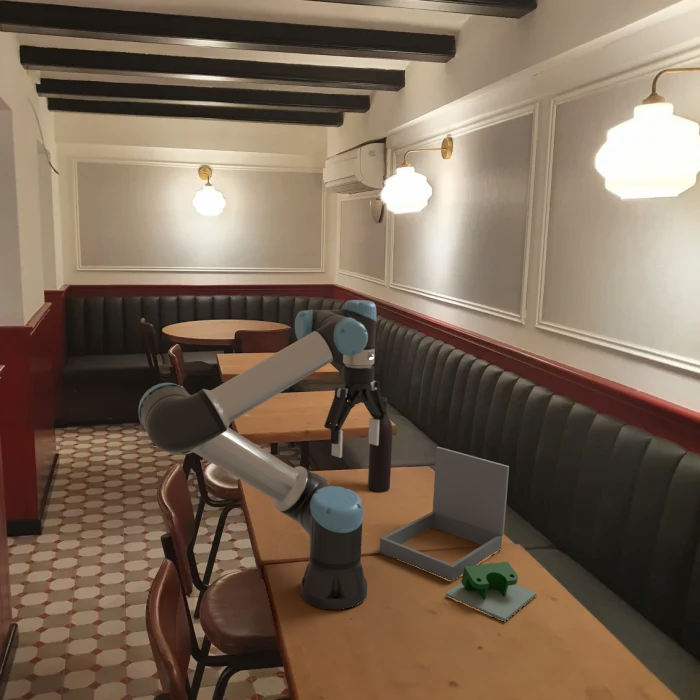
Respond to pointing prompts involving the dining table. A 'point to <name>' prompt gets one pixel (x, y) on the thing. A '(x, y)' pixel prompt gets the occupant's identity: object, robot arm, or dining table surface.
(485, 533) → the case
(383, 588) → the dining table surface
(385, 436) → the wine bottle
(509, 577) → the clamp
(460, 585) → the mat
